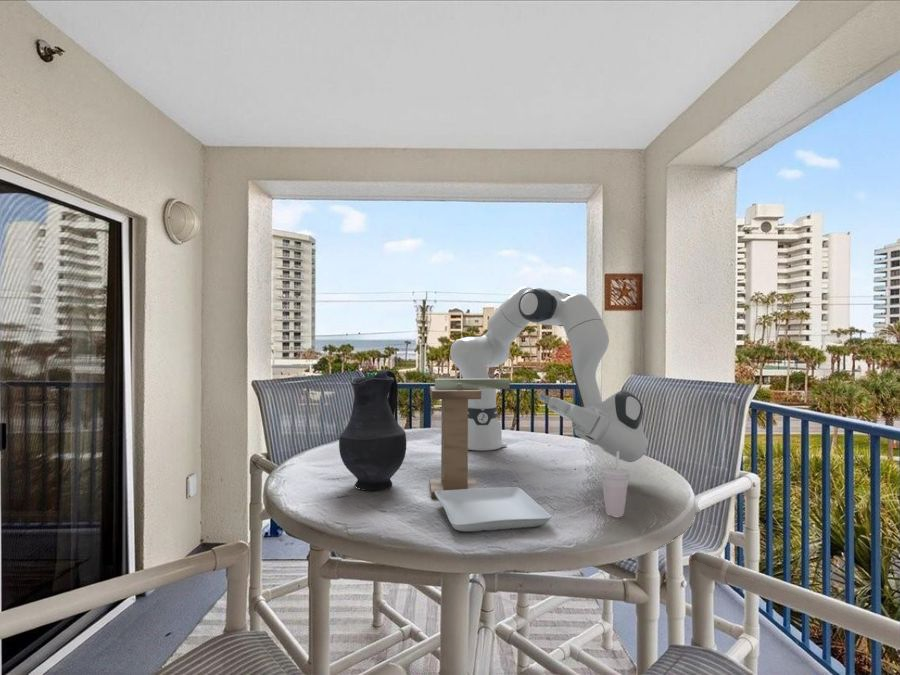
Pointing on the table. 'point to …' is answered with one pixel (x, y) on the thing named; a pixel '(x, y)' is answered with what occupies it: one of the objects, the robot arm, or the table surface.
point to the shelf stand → (454, 439)
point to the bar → (473, 383)
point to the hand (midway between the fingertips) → (544, 397)
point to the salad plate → (491, 509)
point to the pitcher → (373, 432)
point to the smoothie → (615, 488)
